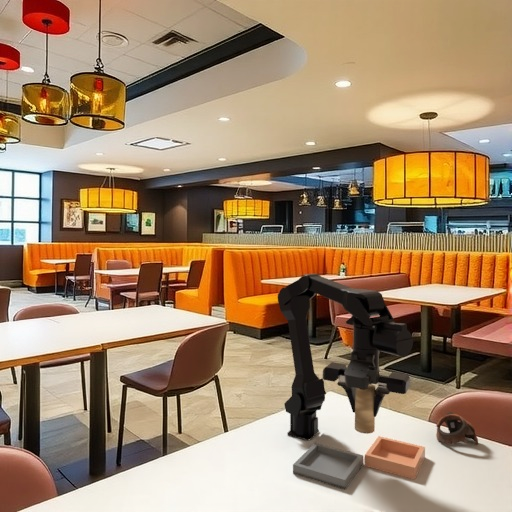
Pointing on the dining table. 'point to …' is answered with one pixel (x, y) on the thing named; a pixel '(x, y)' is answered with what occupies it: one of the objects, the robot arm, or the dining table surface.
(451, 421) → the dark brown vr controller
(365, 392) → the maple peg
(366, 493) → the dining table surface
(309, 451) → the charcoal tray
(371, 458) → the terracotta dish
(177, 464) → the dining table surface
